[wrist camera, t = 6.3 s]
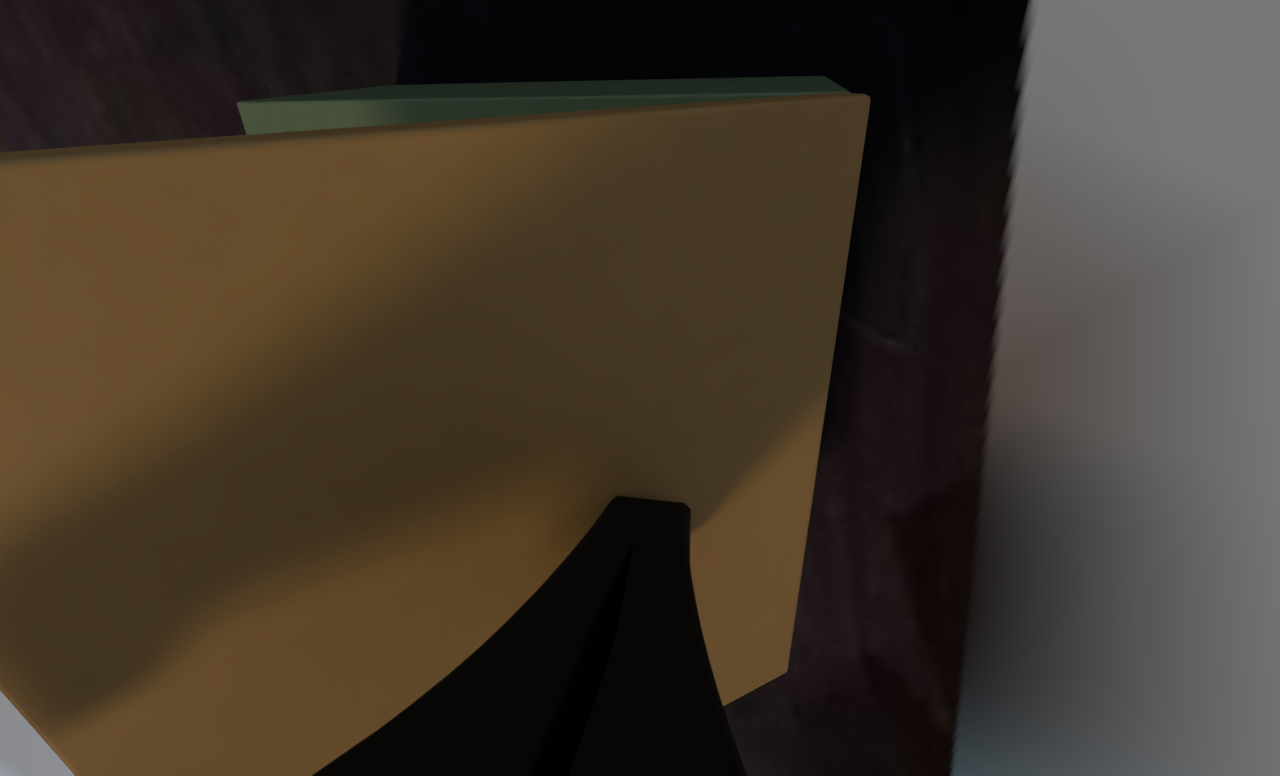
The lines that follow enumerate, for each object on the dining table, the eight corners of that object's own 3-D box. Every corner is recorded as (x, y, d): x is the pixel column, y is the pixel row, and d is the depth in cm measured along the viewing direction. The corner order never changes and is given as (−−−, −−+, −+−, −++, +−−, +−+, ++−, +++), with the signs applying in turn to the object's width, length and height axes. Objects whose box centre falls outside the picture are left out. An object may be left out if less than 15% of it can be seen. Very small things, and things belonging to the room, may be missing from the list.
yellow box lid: (242, 918, 12) (239, 968, 11) (-352, 177, 5) (-446, 195, 4) (769, 649, 16) (788, 672, 16) (836, 91, 10) (874, 94, 9)
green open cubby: (473, 475, 23) (392, 590, 18) (394, 84, 17) (234, 101, 12) (778, 506, 21) (778, 646, 16) (825, 75, 15) (851, 91, 10)
